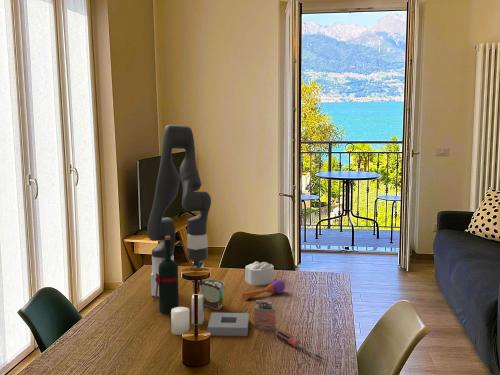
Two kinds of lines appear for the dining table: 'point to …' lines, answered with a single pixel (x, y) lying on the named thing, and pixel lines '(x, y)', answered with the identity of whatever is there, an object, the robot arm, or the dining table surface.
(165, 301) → the wine bottle
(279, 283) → the kendama
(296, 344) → the screwdriver
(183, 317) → the white short cylinder
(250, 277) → the lumpy-topped squat cylinder
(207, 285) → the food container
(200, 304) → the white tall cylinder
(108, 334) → the dining table surface
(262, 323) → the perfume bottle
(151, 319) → the dining table surface
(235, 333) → the socket block
